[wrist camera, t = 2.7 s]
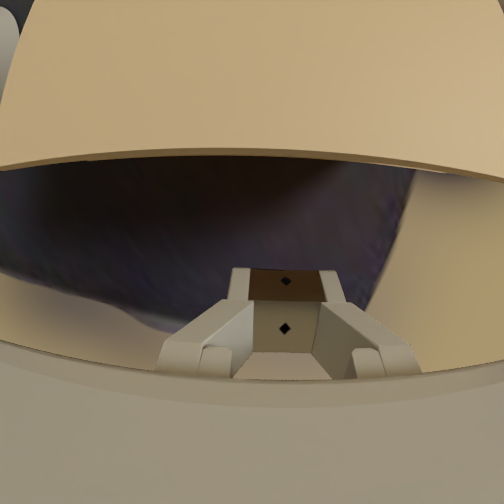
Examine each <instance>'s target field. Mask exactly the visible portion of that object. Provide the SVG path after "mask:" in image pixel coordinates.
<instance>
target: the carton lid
mask: <svg viewBox="0 0 504 504" xmlns="http://www.w3.org/2000/svg"><path fill="white" fill-rule="evenodd" d="M190 154H244V155H278V156H299V157H315V158H329V159H342V160H353V161H363V162H373V163H382V164H390V165H399V166H406V167H414V168H421V169H428V170H434V171H441V172H447V173H453V174H459V175H464V176H469V177H475V178H480V179H485V180H490V181H495V182H500V183H504V14H503V12H502V9H501V7H500V4H499V2H498V0H35V1H34V3H33V6H32V8H31V10H30V13H29V15H28V18H27V20H26V23H25V25H24V28H23V30H22V33H21V36H20V38H19V41H18V44H17V47H16V50H15V53H14V56H13V59H12V63H11V66H10V69H9V73H8V76H7V80H6V84H5V87H4V91H3V96H2V100H1V104H0V170H1V171H6V170H12V169H19V168H25V167H32V166H40V165H47V164H56V163H64V162H73V161H83V160H94V159H106V158H120V157H136V156H157V155H190Z"/></svg>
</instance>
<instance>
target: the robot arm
mask: <svg viewBox="0 0 504 504" xmlns="http://www.w3.org/2000/svg"><path fill="white" fill-rule="evenodd" d="M18 41H19V31H18V26H17V23H16V21H15V18H14V17H13V15H12V14H11V13H10V12H9V11H8V10H7V9H5V8H3V7H0V104H1V100H2V96H3V91H4V87H5V84H6V80H7V76H8V73H9V69H10V66H11V63H12V59H13V56H14V53H15V50H16V47H17V44H18ZM252 352H290V353H312V356H313V357H314V358H315V359H316V360H317V361H318V363H319V364H320V365H321V366H322V367H323V368H324V370H325V371H326V372H327V373H328V374H329V375H330V377H331V378H332V380H258V379H236V378H235V379H234V378H233V376H234V375H235V374H236V373H237V371H238V370H239V369H240V368H241V367H242V366H243V364H244V363H245V362H246V361H247V360H248V358H249V357H250V356H251V355H252ZM0 504H504V360H500V361H495V362H490V363H484V364H479V365H474V366H468V367H461V368H455V369H448V370H441V371H434V372H426V373H422V371H421V369H420V366H419V364H418V362H417V359H416V357H415V354H414V352H413V350H412V347H411V345H410V344H408V343H407V342H406V341H404V340H403V339H402V338H400V337H399V336H397V335H396V334H394V333H393V332H392V331H390V330H389V329H387V328H386V327H385V326H383V325H382V324H380V323H379V322H378V321H376V320H375V319H373V318H372V317H371V316H369V315H368V314H366V313H365V312H364V311H362V310H361V309H359V308H358V307H356V306H355V305H354V304H352V303H346V300H345V297H344V294H343V291H342V288H341V285H340V282H339V279H338V276H337V273H336V271H334V270H324V271H303V270H275V269H256V268H251V272H250V268H233V269H232V273H231V279H230V284H229V290H228V296H227V300H223V299H222V300H221V301H219V302H218V303H216V304H215V305H214V306H212V307H211V308H210V309H208V310H207V311H205V312H204V313H203V314H201V315H200V316H198V317H197V318H196V319H194V320H193V321H192V322H190V323H189V324H187V325H186V326H185V327H183V328H182V329H180V330H179V331H178V332H176V333H175V334H173V335H172V336H171V337H169V338H168V339H166V340H165V341H164V344H163V347H162V350H161V353H160V356H159V359H158V362H157V364H156V368H155V370H154V371H149V370H141V369H134V368H128V367H121V366H115V365H109V364H103V363H97V362H92V361H86V360H81V359H76V358H72V357H67V356H62V355H58V354H53V353H49V352H45V351H40V350H36V349H33V348H29V347H25V346H21V345H17V344H14V343H10V342H6V341H3V340H0Z"/></svg>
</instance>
